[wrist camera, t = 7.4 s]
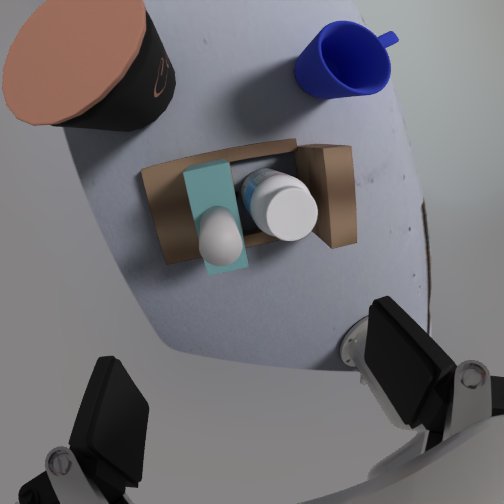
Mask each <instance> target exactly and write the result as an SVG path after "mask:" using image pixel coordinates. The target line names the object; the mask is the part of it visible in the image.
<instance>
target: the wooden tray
mask: <svg viewBox="0 0 504 504" xmlns="http://www.w3.org/2000/svg"><path fill="white" fill-rule="evenodd" d="M293 151H294V155H295V162H296V169H297V177H298V180H300V181H301V182H302V183H304V184H305V186H306V187H307V188H308V190H309V192H310V194H311V196H312V197H313V199H314V200H315V202H316V205H317V210H318V215H317V221H316V223H315V226H314V227H313V229H312V230H311V231H312V232H314V233H315V234H316V235H317V236H318V237H319V238H320V239H321V240H323V241H324V242H325V243H326V244H327V245H328V246H329V247H330V248H331V249H333V248H337V247H342V246H346V245H350V244H354V243H357V217H356V196H355V181H354V169H353V158H352V148H351V146H346V145H330V144H310V145H301V146H297V142H296V138H295V139H285V140H277V141H270V142H263V143H257V144H251V145H245V146H239V147H234V148H228V149H223V150H218V151H213V152H208V153H204V154H199V155H195V156H190V157H186V158H182V159H178V160H174V161H170V162H166V163H162V164H158V165H155V166H151V167H147V168H144V169H141V173H142V177H143V182H144V186H145V190H146V194H147V198H148V202H149V205H150V209H151V213H152V217H153V220H154V224H155V227H156V231H157V234H158V238H159V241H160V244H161V248H162V251H163V254H164V258H165V261H166V264H167V265H168V264H173V263H177V262H182V261H186V260H191V259H195V258H200V257H202V256H201V254H200V251H199V239H198V235H197V231H196V227H195V223H194V218H193V214H192V210H191V206H190V201H189V197H188V193H187V188H186V184H185V179H184V175H183V172H184V171H185V170H186V169H187V168H188V166H192V165H197V164H201V163H206V162H210V161H215V160H220V159H225V160H227V161H228V162H229V165H230V162H232V161H237V160H242V159H248V158H254V157H259V156H266V155H272V154H279V153H286V152H293ZM230 170H231V167H230ZM231 175H232V172H231ZM232 181H233V178H232ZM233 186H234V183H233ZM234 191H235V188H234ZM235 197H236V194H235ZM236 202H237V199H236ZM237 207H238V204H237ZM238 213H239V210H238ZM239 218H240V215H239ZM240 223H241V220H240ZM241 228H242V225H241ZM242 234H243V239H244V244H245V248H246V247H250V246H255V245H259V244H264V243H269V242H273V241H278V240H281V239H279V238H277V237H275V236H271V235H269V234H267V233H265V232H263V231H262V230H261V229H255V230H250V231H245V232H243V231H242Z"/></svg>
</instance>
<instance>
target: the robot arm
mask: <svg viewBox="0 0 504 504" xmlns="http://www.w3.org/2000/svg"><path fill="white" fill-rule="evenodd" d="M340 356H341V359H342V360H343V362H344V363H345V364H346V365H348V366H352V367H357V368H358V370H359V372H360V373H361V378H360V383H361V384H363V385H365V384H367V385H368V386H369V388H370V390H371V391H372V393H373V394H374V396H375V398H376V399H377V401H378V403H379V404H380V406H381V408H382V409H383V411H384V412H385V414H386V416H387V418H388V419H389V421H390V422H391V423H392V424H393V425H394V426H396V427H398V428H401V429H406V430H413V431H417V432H418V433H417V435H416V436H415V437H414V438H412V439H411V440H410V441H409V442H408V443H406V444H405V445H404V446H402V447H401V448H399V449H398V450H396V451H395V452H394V453H392V454H390V455H389V456H387V457H386V458H384V459H383V460H381V461H380V462H378V463H377V464H376V465H375V466H373V468H372V469H371V470H370V472H369V474H368V481H366V482H363V483H361V484H358V485H356V486H353V487H350V488H348V489H345V490H342V491H339V492H336V493H333V494H330V495H327V496H323V497H320V498H317V499H313V500H310V501H306V502H302V503H298V504H504V377H498V376H490V373H489V370H488V369H487V367H486V366H484V365H483V364H482V363H481V362H479V361H475V360H467V361H464V362H462V363H461V364H459V365H458V366H457V365H456V364H455V362H453V360H452V359H451V358H450V357H449V356H448V355H447V354H446V353H445V352H444V351H443V350H442V348H441V347H440V346H439V345H438V344H437V343H436V342H435V341H434V340H433V339H432V338H431V337H430V336H429V335H428V334H427V333H426V332H425V331H424V330H423V329H422V328H421V327H420V326H419V325H418V324H417V323H416V322H415V321H414V320H413V319H412V318H411V317H410V316H409V315H408V314H407V313H406V312H405V311H404V310H403V309H402V308H401V307H400V306H399V305H398V304H397V303H396V302H395V301H394V300H393V299H392V298H391V297H389V296H385V297H382V298H379V299H376V300H374V301H373V304H372V305H370V307H369V316H367V317H365V318H364V319H362V320H361V321H359V322H358V323H357V324H355V325H354V326H353V327H352V328H351V329H350V330H349V332H348V333H347V334H346V336H345V337H344V339H343V341H342V343H341V346H340ZM148 415H149V405H148V403H147V401H146V400H145V398H144V397H143V395H142V394H141V392H140V391H139V389H138V388H137V387H136V385H135V384H134V382H133V380H132V379H131V377H130V376H129V374H128V373H127V371H126V370H125V368H124V367H123V365H122V363H121V361H120V360H118V359H116V358H115V357H114V356H104V357H99V358H98V360H97V362H96V365H95V367H94V370H93V372H92V375H91V377H90V380H89V383H88V385H87V388H86V391H85V394H84V396H83V399H82V402H81V405H80V408H79V411H78V414H77V417H76V420H75V423H74V426H73V430H72V433H71V436H70V440H69V445H70V449H68V448H67V447H62V446H61V447H56V448H54V449H52V450H51V451H50V452H49V453H48V455H47V457H46V460H45V468H46V471H45V472H43V473H41V474H40V475H38V476H37V477H35V478H34V479H32V480H31V481H29V482H27V483H26V484H24V485H23V486H22V487H21V489H20V490H19V495H18V496H19V503H20V504H134V503H133V502H132V501H131V500H130V498H129V497H128V496H127V494H126V493H125V487H136V488H138V482H140V481H141V479H142V471H143V460H144V449H145V440H146V431H147V423H148ZM19 503H18V502H16V503H15V504H19Z"/></svg>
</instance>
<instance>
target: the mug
mask: <svg viewBox="0 0 504 504" xmlns="http://www.w3.org/2000/svg"><path fill="white" fill-rule="evenodd" d="M398 41H399V39H398V37H397V36H396V34H395V33H394V32H392V31H389V32H387V33H385V34H383V35H381V36H379V37H376V35H374V34H373V33H372V32H371V31H370V30H368V29H367V28H365V27H363V26H362V25H359V24H357V23H354V22H350V21H336V22H332V23H330V24H328V25H326V26H325V27H324V28H323V29H322V30H321V31H320V32H319V33H318V34H317V36H316V37H315V38H314V39H313V40H312V41H311V42H310V44H309V45H308V46H307V47H306V48H305V50H304V51H303V52H302V53H301V54H300V56H299V57H298V59H297V61H296V64H295V77H296V79H297V82H298V83H299V85H300V86H301V88H302V89H303V90H304V91H306V92H307V93H308V94H310V95H312V96H314V97H317V98H321V99H333V98H342V97H351V96H363V95H371V94H375V93H377V92H379V91H381V90H382V89H383V88H384V87H385V86H386V84H387V83H388V81H389V78H390V73H391V64H390V59H389V56H388V53H387V51H386V49H385V48H386V47H389V46H391V45H393V44H395V43H397V42H398Z"/></svg>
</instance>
